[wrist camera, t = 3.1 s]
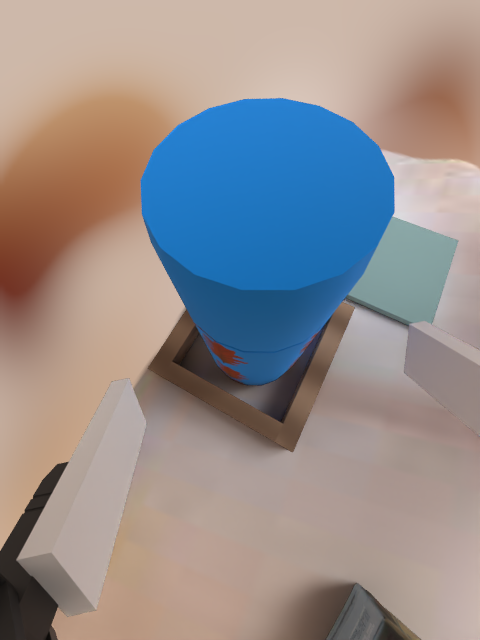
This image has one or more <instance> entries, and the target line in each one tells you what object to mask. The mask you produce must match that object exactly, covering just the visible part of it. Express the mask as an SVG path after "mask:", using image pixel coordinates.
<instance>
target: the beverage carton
mask: <svg viewBox="0 0 480 640" xmlns="http://www.w3.org/2000/svg"><path fill="white" fill-rule="evenodd" d="M326 640H421V639H420V638H419V637H417V636H416V635H415V634H414V633H413V632H412V631H411V630H410V629H408V628H407V627H406V626H405V625H404V624H403V623H402V622H401V621H400V620H398V619H397V618H396V617H395V616H394V615H393V614H392V613H390V612H389V611H388V610H387V609H385V608H384V607H383V606H382V605H381V604H380V603H379V602H378V601H377V600H376V599H375V598H374V597H373V596H372V594H371V593H369V592H368V591H367V590H365V589H364V588H363V587H362V586H361V585H359V584H358V583H356V584H355V585H354V587H353V590H352V592H351V594H350V596H349V598H348V600H347V602H346V604H345V606H344V608H343V610H342V611H341V613H340V615H339V617H338V619H337V620H336V622H335V624H334V626H333V628H332V629H331V631H330V633H329V635H328V637H327V638H326Z"/></svg>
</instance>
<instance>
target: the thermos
mask: <svg viewBox="0 0 480 640" xmlns="http://www.w3.org/2000/svg"><path fill="white" fill-rule="evenodd" d="M141 200H142V201H141V202H142V216H143V219H144V222H145V225H146V228H147V231H148V234H149V237H150V240H151V243H152V245H153V247H154V249H155V251H156V253H157V255H158V256H159V258H160V260H161V262H162V264H163V266H164V268H165V270H166V272H167V274H168V275H169V277H170V279H171V281H172V283H173V285H174V286H175V288H176V290H177V292H178V294H179V296H180V298H181V299H182V301H183V303H184V305H185V307H186V309H187V311H188V312H189V314H190V316H191V318H192V320H193V322H194V323H195V325H196V327H197V329H198V331H199V333H200V335H201V336H202V338H203V340H204V342H205V344H206V346H207V348H208V349H209V351H210V353H211V355H212V357H213V359H214V360H215V362H216V364H217V366H218V367H219V368H220V369H221V370H222V371H223V372H224V373H226V374H227V375H228V376H229V377H230V378H231V379H232V380H234V381H237V382H240V383H242V384H245V385H264V384H267V383H269V382H272V381H275V380H277V379H278V378H279V377H280V376H281V375H283V374H284V373H285V372H286V371H287V370H288V369H290V368H291V367H292V366H293V365H294V364H295V362H296V361H297V360H298V358H299V357H300V356H301V355H302V353H303V352H304V351H305V349H306V348H307V347H308V345H309V344H310V343H311V342H312V340H313V339H314V338H315V336H316V335H317V334H318V332H319V331H320V330H321V329H322V327H323V326H324V325H325V323H326V322H327V321H328V319H329V318H330V317H331V316H332V314H333V313H334V312H335V310H336V309H337V308H338V306H339V305H340V304H341V303H342V301H343V300H344V299H345V297H346V296H347V295H348V294H349V292H350V291H351V290H352V288H353V287H354V286H355V284H356V283H357V282H358V281H359V279H360V278H361V277H362V275H363V274H364V272H365V270H366V268H367V266H368V264H369V262H370V260H371V258H372V256H373V254H374V252H375V250H376V248H377V246H378V244H379V242H380V240H381V238H382V236H383V234H384V232H385V230H386V228H387V226H388V224H389V222H390V220H391V218H392V216H393V214H394V176H393V174H392V172H391V170H390V168H389V166H388V164H387V162H386V160H385V158H384V156H383V154H382V152H381V150H380V148H379V146H378V145H377V144H376V143H375V142H374V141H373V140H372V139H370V138H369V137H368V136H367V135H366V134H365V133H364V132H363V131H362V130H361V129H360V128H359V127H357V126H356V125H355V124H354V123H353V122H351V121H349V120H347V119H345V118H343V117H341V116H339V115H337V114H335V113H333V112H331V111H329V110H327V109H324V108H323V107H320V106H317V105H312V104H307V103H303V102H298V101H293V100H288V99H283V98H276V99H244V100H240V101H236V102H232V103H228V104H224V105H221V106H216V107H213V108H209V109H207V110H205V111H203V112H201V113H200V114H198V115H196V116H194V117H192V118H191V119H189V120H187V121H185V122H183V123H181V124H179V125H178V126H177V127H176V128H175V129H174V130H173V131H172V132H171V133H170V134H169V135H168V136H167V137H166V138H165V139H164V140H163V141H162V142H161V143H160V144H159V145H158V146H157V147H156V148H155V149H154V150H153V153H152V155H151V157H150V160H149V162H148V165H147V167H146V169H145V171H144V174H143V176H142V179H141Z"/></svg>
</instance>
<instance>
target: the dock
mask: <svg viewBox="0 0 480 640" xmlns="http://www.w3.org/2000/svg"><path fill="white" fill-rule="evenodd" d="M354 309H355V307H353V306H351V305H348V304H346V303H344V302H342V303H341V304H340V305H339V306H338V308H337V309H336V310H335V312H334V313H333V314H332V316H331V317H330V318H329V319H328V321H327V322H326V325H325V327H324V329H323V331H322V333H321V336H320V338H319V340H318V342H317V344H316V347H315V349H314V351H313V353H312V355H311V357H310V360H309V362H308V364H307V366H306V368H305V371H304V373H303V375H302V377H301V379H300V381H299V384H298V386H297V388H296V390H295V392H294V395H293V397H292V399H291V401H290V403H289V405H288V408H287V410H286V412H285V414H284V416H283V419H282V421H281V422H279V421H277V420H276V419H274V418H272V417H270V416H268V415H267V414H265V413H263V412H261V411H260V410H258V409H256V408H254V407H252V406H251V405H249V404H247V403H245V402H244V401H242V400H240V399H238V398H236V397H235V396H233V395H231V394H229V393H227V392H226V391H224V390H222V389H220V388H219V387H217V386H215V385H213V384H211V383H210V382H208V381H206V380H204V379H202V378H201V377H199V376H197V375H195V374H194V373H192V372H190V371H188V370H186V369H185V368H183V367H181V366H179V365H180V363H181V361H182V360H183V358H184V357H185V355H186V353H187V352H188V350H189V348H190V347H191V345H192V344H193V342H194V340H195V339H196V337H197V336H198V334H199V331H198V329H197V327H196V325H195V323H194V322H193V320H192V318H191V316H190V314H189V312H188V311H187V309H186V311H185V312H184V314H183V315H182V317H181V319H180V320H179V322H178V323H177V325H176V326H175V328H174V329H173V331H172V332H171V334H170V335H169V337H168V338H167V340H166V341H165V343H164V344H163V346H162V347H161V349H160V350H159V352H158V354H157V355H156V357H155V358H154V360H153V361H152V363H151V364H150V366H149V367H148V369H149V370H151V371H153V372H154V373H156V374H158V375H160V376H161V377H163V378H165V379H167V380H168V381H170V382H172V383H173V384H175V385H177V386H179V387H180V388H182V389H184V390H186V391H187V392H189V393H191V394H192V395H194V396H196V397H198V398H199V399H201V400H203V401H205V402H206V403H208V404H210V405H211V406H213V407H215V408H217V409H218V410H220V411H222V412H224V413H225V414H227V415H229V416H230V417H232V418H234V419H236V420H237V421H239V422H241V423H243V424H244V425H246V426H248V427H249V428H251V429H253V430H255V431H256V432H258V433H260V434H262V435H263V436H265V437H267V438H268V439H270V440H272V441H274V442H275V443H277V444H279V445H281V446H282V447H284V448H286V449H287V450H289V451H291V452H293V451H294V449H295V446H296V444H297V442H298V439H299V437H300V435H301V432H302V430H303V428H304V425H305V423H306V421H307V418H308V416H309V414H310V411H311V409H312V407H313V404H314V402H315V400H316V397H317V395H318V393H319V390H320V388H321V386H322V383H323V381H324V379H325V376H326V374H327V372H328V369H329V367H330V365H331V362H332V360H333V358H334V355H335V353H336V351H337V348H338V346H339V344H340V341H341V339H342V337H343V334H344V332H345V330H346V327H347V325H348V323H349V320H350V318H351V316H352V313H353V311H354Z"/></svg>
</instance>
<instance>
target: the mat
mask: <svg viewBox="0 0 480 640" xmlns="http://www.w3.org/2000/svg"><path fill="white" fill-rule="evenodd" d="M457 243H458V240H455V239H452V238H450V237H447V236H444V235H441V234H439V233H436V232H433V231H430V230H428V229H425V228H422V227H420V226H417V225H414V224H411V223H409V222H406V221H403V220H400V219H398V218H395V217H392V218H391V220H390V222H389V224H388V226H387V228H386V230H385V232H384V234H383V236H382V238H381V240H380V242H379V244H378V246H377V248H376V250H375V252H374V254H373V256H372V258H371V260H370V262H369V264H368V266H367V268H366V270H365V272H364V274H363V275H362V277H361V278H360V279H359V281H358V282H357V283H356V284H355V286H354V287H353V288H352V290H351V291H350V292H349V294H348V295H347V296H346V297H345V298H347V299H349V300H352V301H354V302H356V303H358V304H361V305H363V306H365V307H368V308H370V309H372V310H374V311H377V312H379V313H381V314H383V315H386V316H388V317H390V318H393V319H395V320H397V321H399V322H402V323H404V324H406V325H408V326H409V324H411V323H417V322H422V321H426V322H428V323H430V324H432V322H433V319H434V316H435V313H436V310H437V307H438V303H439V300H440V297H441V294H442V291H443V288H444V284H445V281H446V278H447V275H448V272H449V269H450V265H451V262H452V259H453V256H454V253H455V250H456V246H457Z"/></svg>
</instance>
